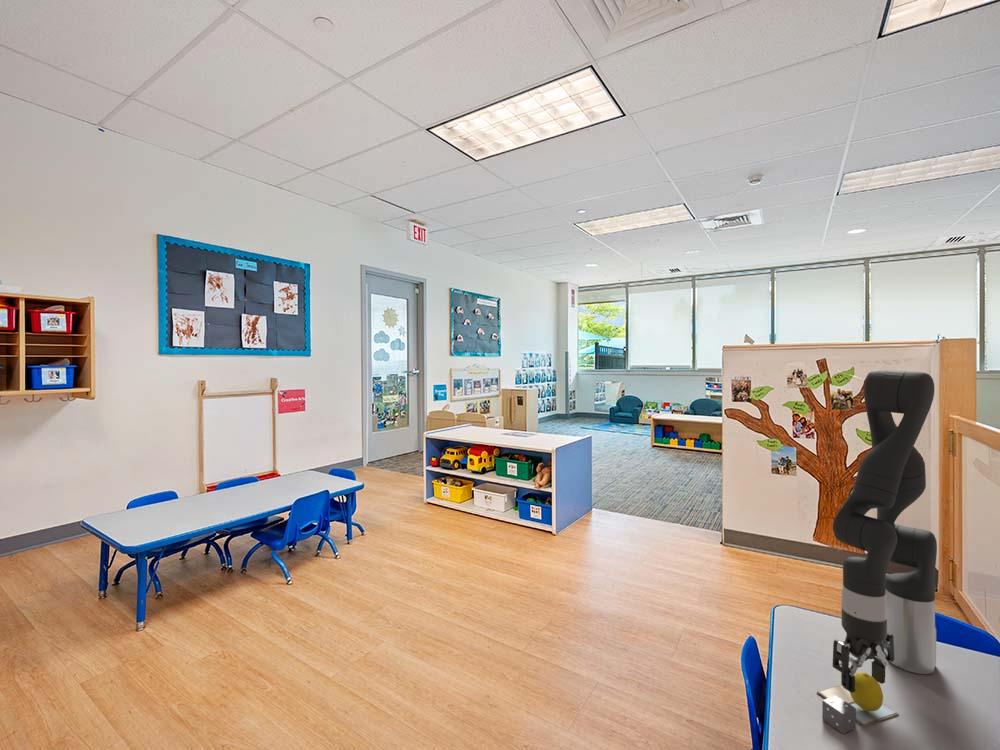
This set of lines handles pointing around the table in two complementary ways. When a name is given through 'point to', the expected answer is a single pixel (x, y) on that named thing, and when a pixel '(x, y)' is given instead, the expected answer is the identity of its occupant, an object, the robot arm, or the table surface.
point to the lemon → (867, 692)
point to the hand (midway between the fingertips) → (863, 685)
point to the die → (839, 714)
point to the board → (861, 715)
